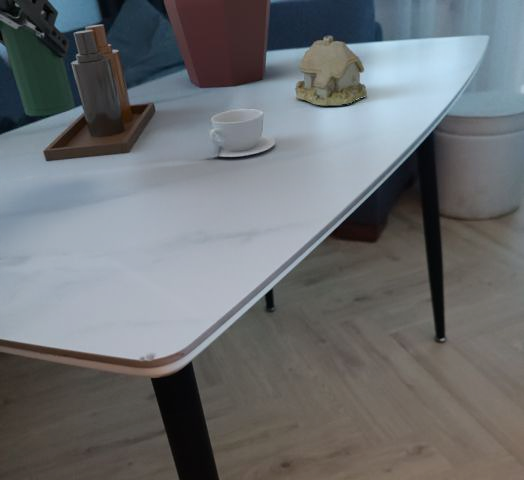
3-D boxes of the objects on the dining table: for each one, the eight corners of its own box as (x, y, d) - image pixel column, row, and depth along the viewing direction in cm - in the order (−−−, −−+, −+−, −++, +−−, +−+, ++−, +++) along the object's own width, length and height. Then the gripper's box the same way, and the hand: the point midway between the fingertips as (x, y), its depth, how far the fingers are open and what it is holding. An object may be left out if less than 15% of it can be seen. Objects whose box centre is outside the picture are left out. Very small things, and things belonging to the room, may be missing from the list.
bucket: (302, 71, 130) (294, -68, 116) (230, 95, 117) (211, -58, 103) (225, 67, 145) (210, -57, 130) (154, 87, 132) (129, -48, 118)
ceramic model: (380, 95, 105) (381, 31, 99) (335, 110, 99) (333, 43, 94) (324, 88, 114) (321, 29, 108) (280, 101, 109) (275, 40, 103)
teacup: (245, 135, 92) (241, 103, 89) (289, 145, 86) (287, 111, 83) (193, 153, 87) (187, 120, 84) (236, 164, 80) (231, 129, 78)
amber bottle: (96, 127, 103) (71, 30, 95) (103, 118, 108) (81, 25, 100) (129, 123, 103) (108, 26, 94) (136, 115, 108) (116, 21, 99)
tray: (47, 166, 89) (42, 150, 88) (89, 122, 110) (86, 109, 109) (129, 158, 88) (126, 142, 87) (156, 115, 109) (153, 102, 108)
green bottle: (18, 117, 72) (-27, -29, 63) (34, 106, 77) (-6, -32, 68) (67, 113, 71) (28, -35, 63) (80, 101, 76) (45, -37, 68)
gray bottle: (85, 138, 97) (58, 36, 89) (94, 128, 102) (69, 31, 94) (121, 134, 97) (97, 31, 88) (128, 125, 102) (106, 26, 93)
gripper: (-18, -108, 54) (100, 21, 69) (-115, -89, 60) (12, 25, 75) (-44, -33, 53) (81, 80, 68) (-140, -22, 59) (-6, 79, 74)
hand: (44, 51), depth 72 cm, fingers closed on green bottle, 6 cm apart
